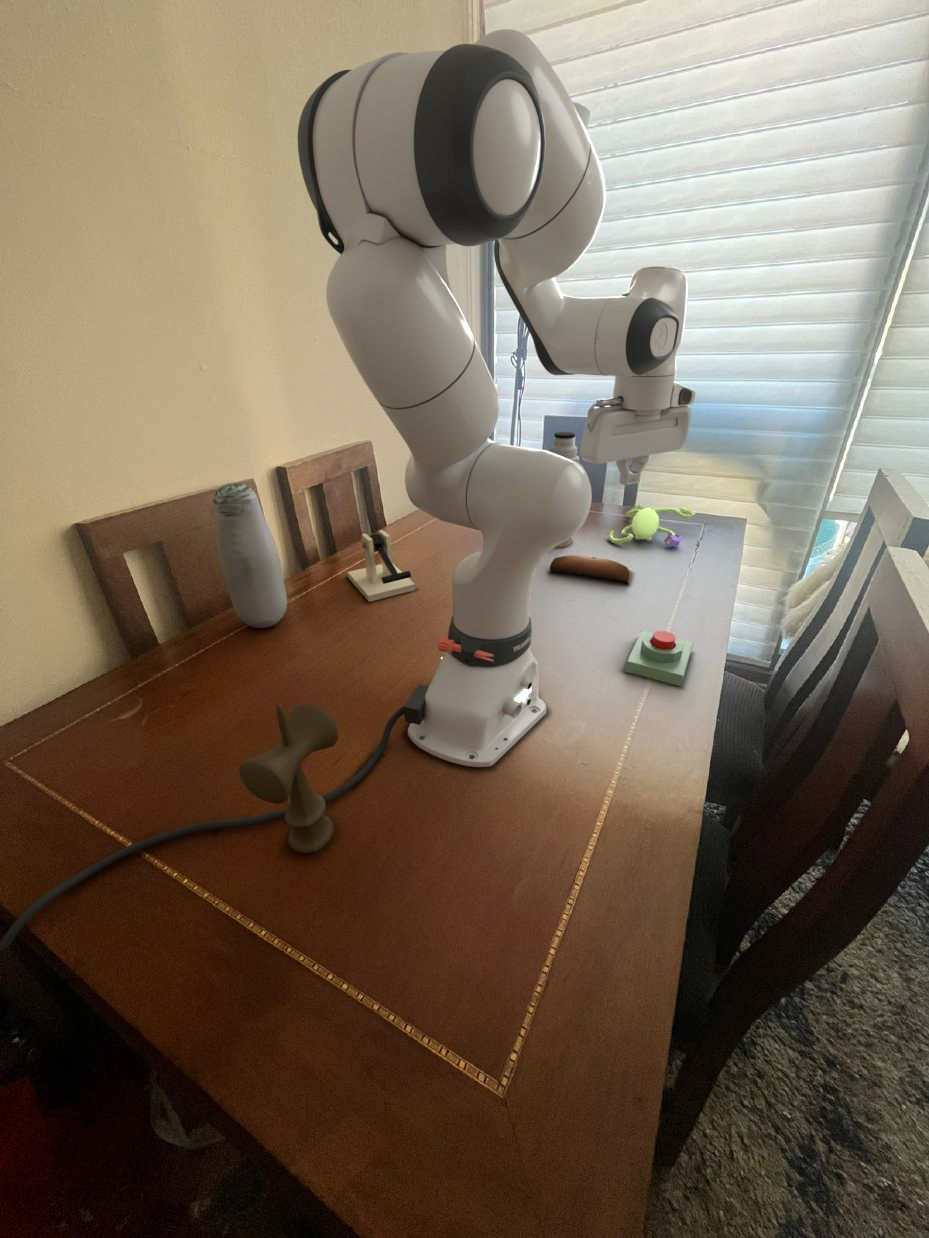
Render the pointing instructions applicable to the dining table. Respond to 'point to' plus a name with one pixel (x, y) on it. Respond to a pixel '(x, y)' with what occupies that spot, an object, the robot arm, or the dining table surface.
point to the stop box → (659, 660)
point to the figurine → (650, 525)
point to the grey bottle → (249, 557)
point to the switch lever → (387, 561)
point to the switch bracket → (377, 573)
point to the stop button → (663, 640)
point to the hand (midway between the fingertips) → (629, 483)
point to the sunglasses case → (591, 567)
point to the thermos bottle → (565, 454)
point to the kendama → (295, 775)
